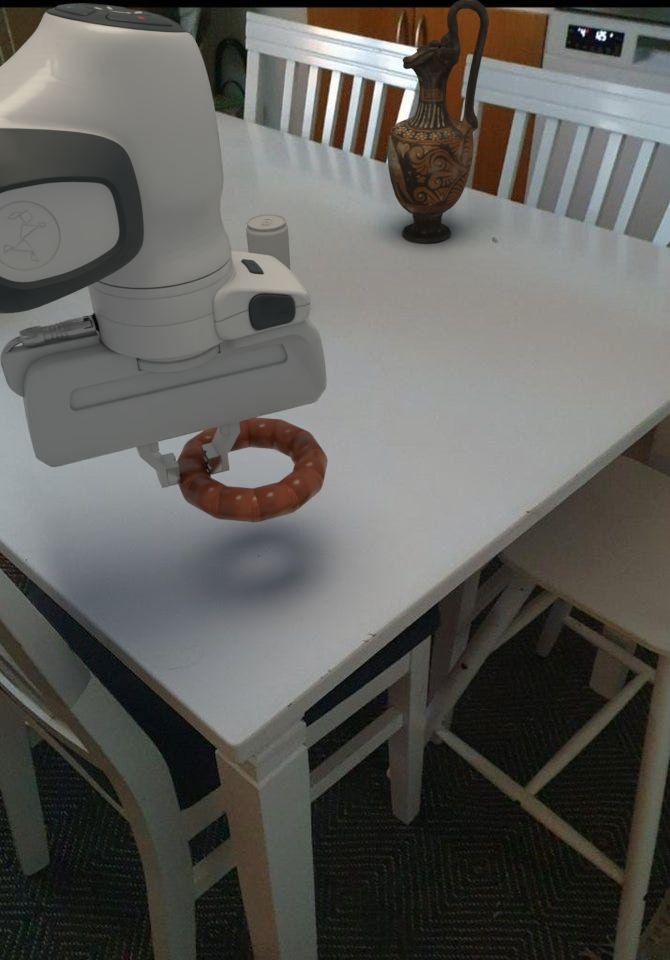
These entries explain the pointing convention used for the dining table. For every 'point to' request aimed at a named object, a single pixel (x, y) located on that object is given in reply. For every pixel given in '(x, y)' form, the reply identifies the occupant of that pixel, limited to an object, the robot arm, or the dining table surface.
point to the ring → (261, 499)
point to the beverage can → (269, 237)
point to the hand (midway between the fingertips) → (194, 474)
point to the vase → (435, 134)
